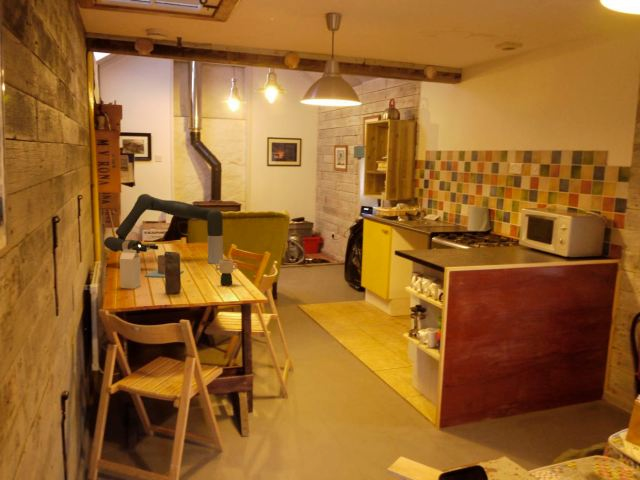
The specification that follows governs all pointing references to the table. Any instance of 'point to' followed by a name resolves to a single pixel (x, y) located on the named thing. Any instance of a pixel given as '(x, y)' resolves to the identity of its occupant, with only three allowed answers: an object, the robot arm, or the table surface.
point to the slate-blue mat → (157, 274)
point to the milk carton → (130, 269)
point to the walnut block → (161, 264)
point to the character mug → (226, 270)
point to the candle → (172, 272)
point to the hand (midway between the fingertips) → (152, 248)
